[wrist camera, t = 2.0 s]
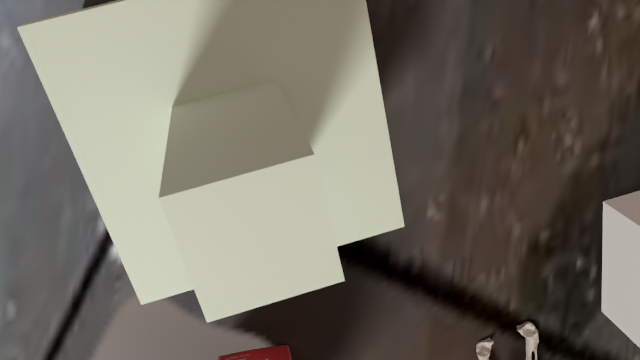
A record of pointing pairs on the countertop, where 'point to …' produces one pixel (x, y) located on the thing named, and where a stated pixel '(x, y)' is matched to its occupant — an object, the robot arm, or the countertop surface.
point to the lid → (224, 139)
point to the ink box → (261, 354)
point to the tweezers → (525, 329)
